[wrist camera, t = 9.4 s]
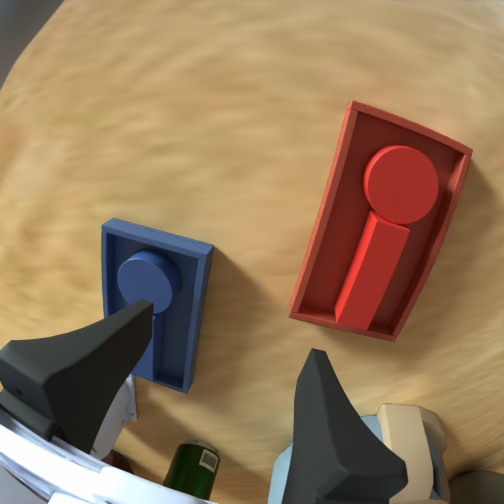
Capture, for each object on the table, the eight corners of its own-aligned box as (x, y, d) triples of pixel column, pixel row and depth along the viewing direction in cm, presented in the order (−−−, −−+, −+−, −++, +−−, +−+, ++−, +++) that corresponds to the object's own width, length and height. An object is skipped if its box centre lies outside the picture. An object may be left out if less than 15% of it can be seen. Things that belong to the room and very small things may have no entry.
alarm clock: (454, 451, 27) (470, 526, 16) (322, 497, 34) (316, 565, 23) (418, 376, 23) (449, 494, 12) (240, 443, 30) (216, 536, 19)
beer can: (192, 433, 30) (159, 521, 20) (230, 453, 31) (207, 539, 20) (172, 445, 33) (140, 522, 22) (207, 464, 33) (183, 539, 22)
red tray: (390, 329, 21) (394, 342, 20) (289, 305, 22) (288, 317, 20) (461, 147, 16) (473, 149, 14) (348, 102, 16) (352, 99, 15)
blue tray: (192, 382, 27) (187, 394, 25) (116, 354, 27) (108, 364, 26) (214, 244, 21) (207, 254, 20) (113, 217, 21) (101, 224, 20)
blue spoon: (173, 370, 26) (164, 386, 24) (129, 353, 26) (119, 369, 24) (184, 257, 21) (172, 271, 19) (129, 241, 22) (114, 253, 20)
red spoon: (376, 315, 21) (381, 334, 19) (318, 301, 21) (319, 319, 19) (436, 159, 16) (451, 163, 14) (372, 134, 16) (381, 135, 14)
